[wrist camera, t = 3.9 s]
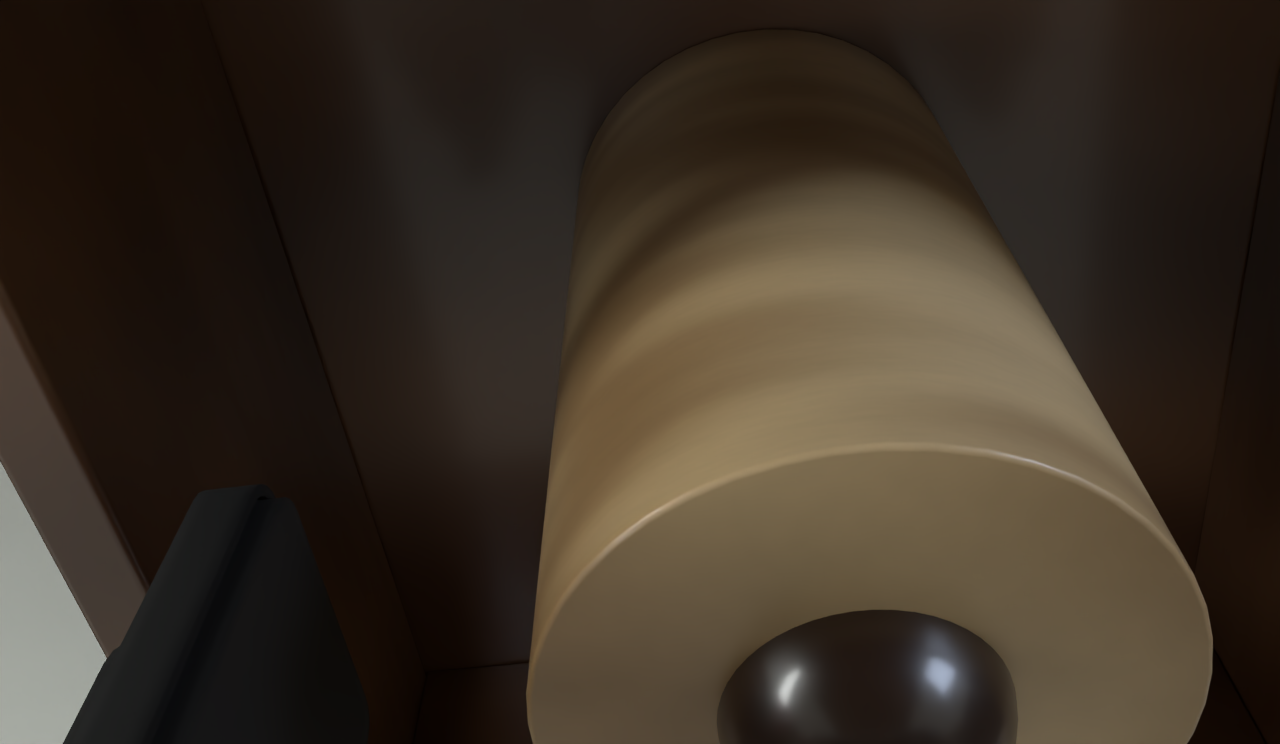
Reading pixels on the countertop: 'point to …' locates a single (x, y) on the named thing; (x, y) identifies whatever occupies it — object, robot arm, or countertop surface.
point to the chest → (566, 285)
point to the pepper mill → (832, 444)
